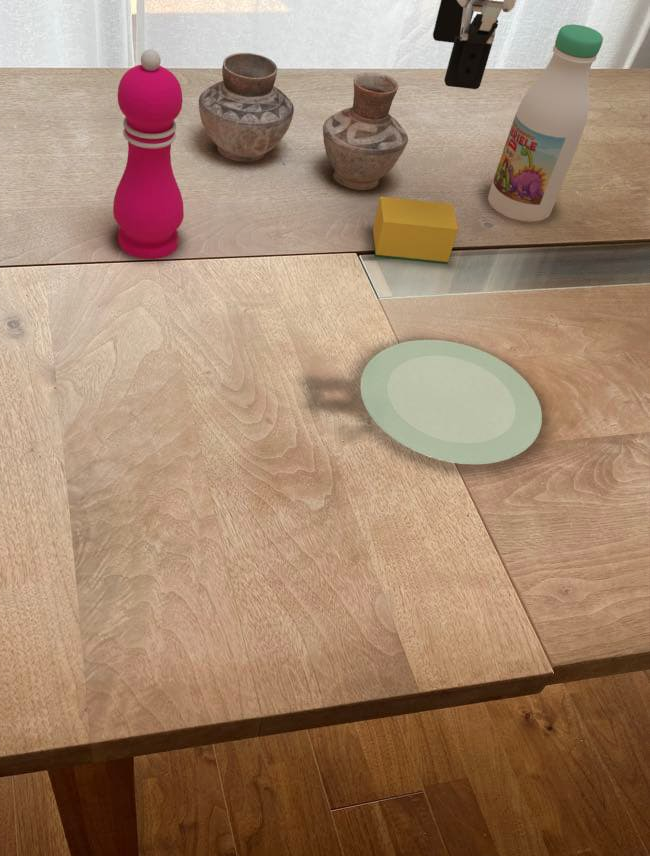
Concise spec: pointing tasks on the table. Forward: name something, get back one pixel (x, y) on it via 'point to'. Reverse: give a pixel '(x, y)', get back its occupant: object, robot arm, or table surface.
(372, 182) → the pottery
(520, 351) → the table surface
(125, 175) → the pepper mill
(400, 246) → the sponge
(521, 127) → the milk bottle
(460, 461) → the plate
